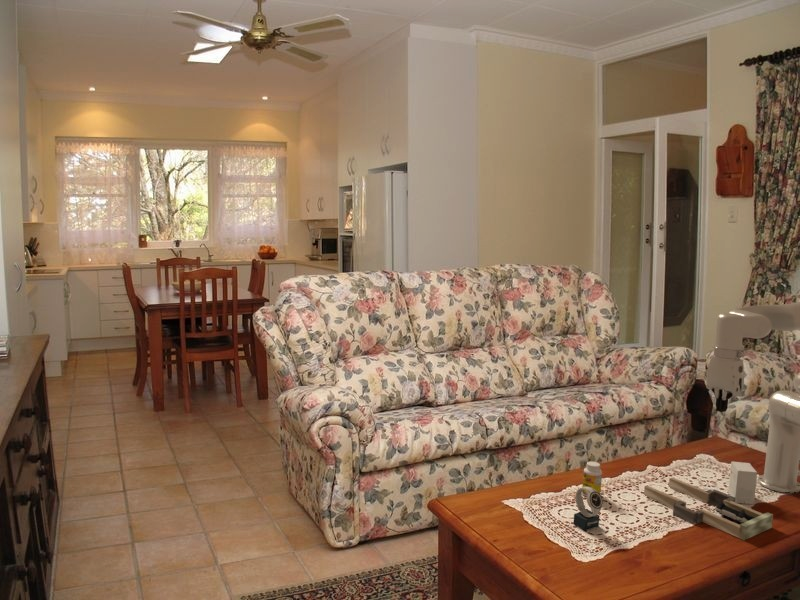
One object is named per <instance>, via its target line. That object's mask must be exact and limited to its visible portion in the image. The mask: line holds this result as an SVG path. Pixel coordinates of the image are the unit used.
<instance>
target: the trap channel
mask: <svg viewBox="0 0 800 600" xmlns="http://www.w3.org/2000/svg"><path fill="white" fill-rule="evenodd" d="M669 487H670V488H669ZM668 488H669V489H672V490H675V491H676V492H679V491H680V492H679V493H681V492H682V494H684V495H686V494H687V496H688V495H689V497H690V498H694V499H696V500H698V501H701V502H703V503H706V504H708V503H707V502H709V501H712V500H715V501H718V502H721V501H723V502H724V504H725V505H726V506H727V507H730V508H732V509H735V510H737V511H741V510H744V511H745V513H746V514H747V515H750V516H753V517H755V518H754V519H751V520H749V521H747V522H744V523H741V524H736V523H735V521H731V520H730V519H728V520H727V519H725V518H724V517H722V516H720V515H717V514H715V513H712V512H710V511H708V510H706V509H704V508H700V509H697V510H692V509H690V508H688V507H687V501H684V500H682V499H680V498H678V497H675V496H673V495H672V494H671V495H670V494H669V493H666V492H663V491H662V490H659V489H658V488H654V487H651V486H649V485H646V486H644V490H643V496H644V495H645V496H647V497H646V498H648V497H649V498H648V499H650V498H651V499H650V500H652V499H653V500H652V501H654V500H656V501H655V502H657V501H658V502H657V503H659V502H660V503H659V504H661V503H662V505H663V504H664V505H663V506H666V507H668V508H670V509H672V515H673V516H676V517H677V518H679V517H680V518H679V519H682V520H685V521H686V522H688V521H689V524H690V523H691V524H701V523H704V524H706V525H709V526H711V527H712V528H715V529H718V530H720V531H722V532H723V533H724V532H725V533H727V534H728V535H731V536H734V537H736V538H738V539H740V540H742V541H747V540H748V539H750V538H753V537H755V536H756V535H760V534H761V533H764V532H766V531H767V530H771V529H772V527H773V519H774V514H773V513H770V512H769V511H768V512H765V513H763V512H760V511H756V510H755V509H752V508H750V507H747V506H745V505H742V504H741V503H735V497H733V496H730V494H729V493H728V494H727V493H724V492H722V491H719V490H718V489H707V490H705V489H702V488H699V487H698V486H695V485H692V484H690V483H687V482H685V481H682V480H679V479H678V478H675V477H669V480H668ZM645 496H644V497H645Z"/></svg>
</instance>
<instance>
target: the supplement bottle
mask: <svg viewBox="0 0 800 600" xmlns="http://www.w3.org/2000/svg"><path fill="white" fill-rule="evenodd" d="M582 474H583V475H582V487H581V488H583V487H587V486H588V487H591V488H593V489H595V490H596V491H597V492H598V493H599V494H600V495H601V491H602V480H603V479H602V477H603V472H602V470H601V464H600V463H599V462H597V461H587V462H586V467H584V469H583V473H582ZM581 494H582V495H583V496H584V497H586V498H587V494H586V490H584V489H583V491H582V493H581Z"/></svg>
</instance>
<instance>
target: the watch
mask: <svg viewBox="0 0 800 600" xmlns="http://www.w3.org/2000/svg"><path fill="white" fill-rule="evenodd" d="M583 489H584V490H586V494H587V497H586V503H587V505H588V507H589V508H590V509H586V506H585V503H584V498H583V496H582V495H583V493H582V491H583ZM574 499H575V504H576V507H577V510H578V512H576V513H574V514H573V525H574V526H576V527H578V528H580V529H581V530H582V531H585V532H586V531H588V530H591V529H592V530H593V529H595V528H597V527H599V526H600V525H599V524H600V515H599V514H600V512H601V511H602V507H603V503H604V499H603V497H602V495H601V493H600V494H599V493H598V492H597V491H596V490H595V489H593V488H591V487H588V486H587V487H583V488H582V487H580V488H577V490H576V492H575V497H574Z"/></svg>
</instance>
